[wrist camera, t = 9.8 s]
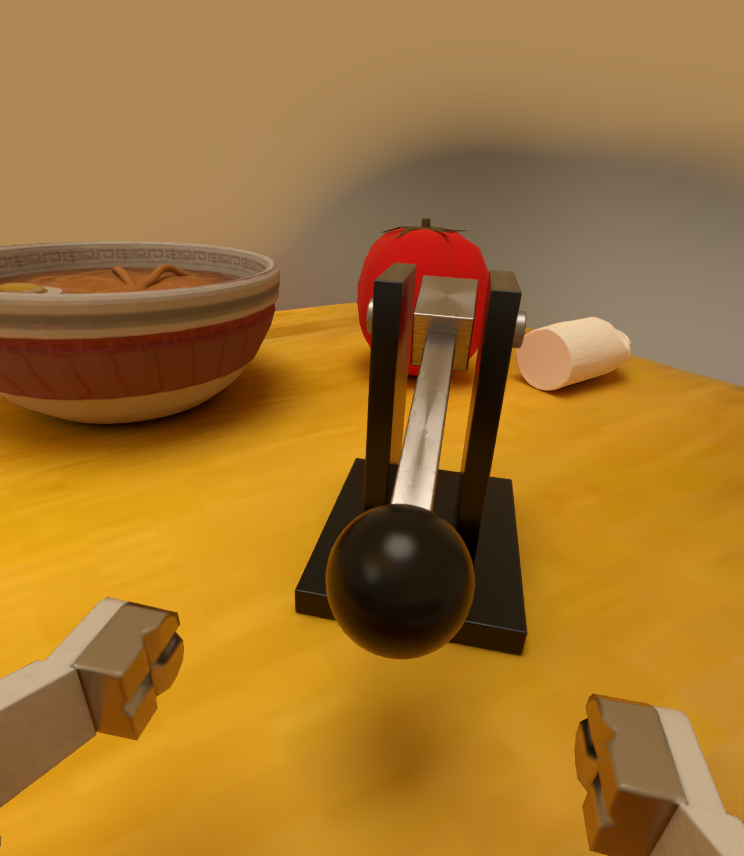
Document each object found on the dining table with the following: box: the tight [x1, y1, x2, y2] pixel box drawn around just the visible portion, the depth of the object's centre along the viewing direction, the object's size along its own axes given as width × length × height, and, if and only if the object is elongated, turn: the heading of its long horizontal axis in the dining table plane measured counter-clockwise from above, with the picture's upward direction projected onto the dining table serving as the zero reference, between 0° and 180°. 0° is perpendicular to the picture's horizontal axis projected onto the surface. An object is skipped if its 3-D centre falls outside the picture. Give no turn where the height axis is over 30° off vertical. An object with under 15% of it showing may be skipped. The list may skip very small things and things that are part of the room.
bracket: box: [295, 263, 527, 655], centre depth 22 cm, size 11×9×13 cm
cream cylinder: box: [516, 317, 631, 391], centre depth 46 cm, size 6×12×6 cm, turn 124°
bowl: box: [0, 241, 280, 424], centre depth 37 cm, size 23×23×10 cm
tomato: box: [357, 218, 489, 376], centre depth 44 cm, size 12×12×13 cm
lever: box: [325, 275, 479, 659], centre depth 16 cm, size 14×4×4 cm, turn 168°
